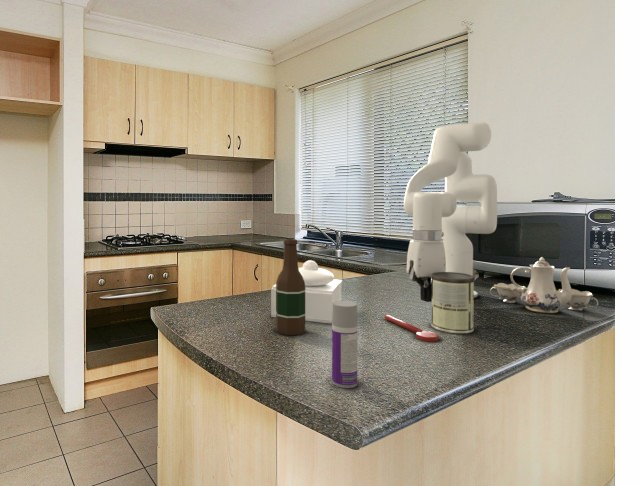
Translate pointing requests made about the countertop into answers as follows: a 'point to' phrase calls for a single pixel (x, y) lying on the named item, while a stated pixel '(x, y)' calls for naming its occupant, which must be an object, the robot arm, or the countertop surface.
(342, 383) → the container
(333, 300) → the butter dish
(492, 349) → the countertop surface
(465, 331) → the coffee can
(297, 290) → the beer bottle
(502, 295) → the chinaware
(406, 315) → the countertop surface
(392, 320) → the red spoon
